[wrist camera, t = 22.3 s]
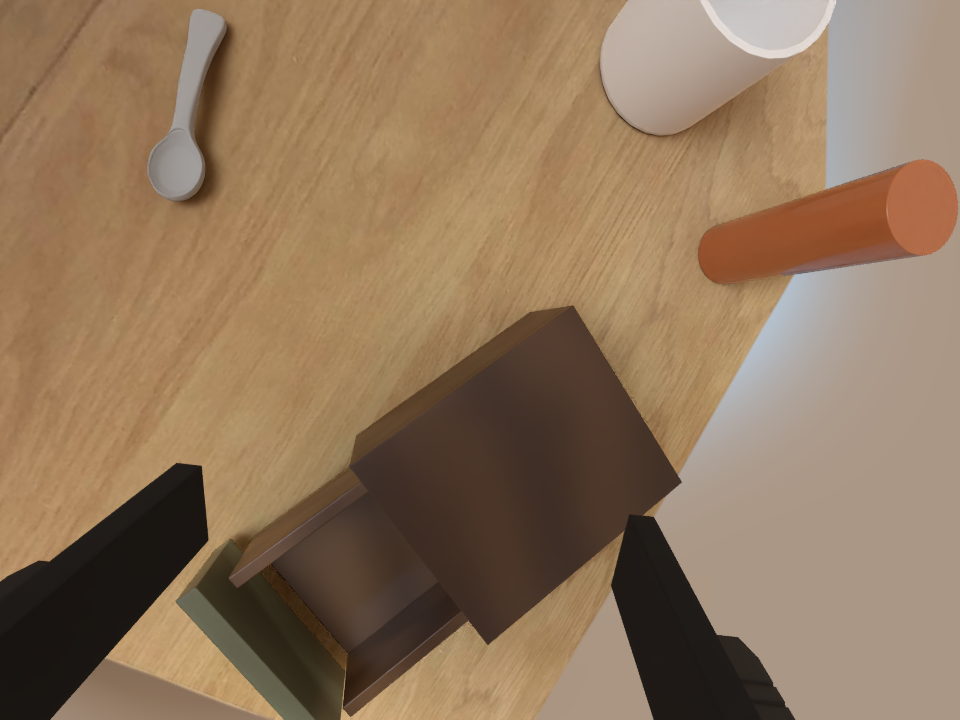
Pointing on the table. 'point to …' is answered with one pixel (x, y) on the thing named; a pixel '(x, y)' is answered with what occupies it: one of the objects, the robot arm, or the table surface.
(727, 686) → the robot arm
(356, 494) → the drawer
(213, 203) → the table surface
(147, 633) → the table surface
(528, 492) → the cabinet
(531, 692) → the table surface
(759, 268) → the orange cylindrical post
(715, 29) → the mug
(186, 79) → the spoon
